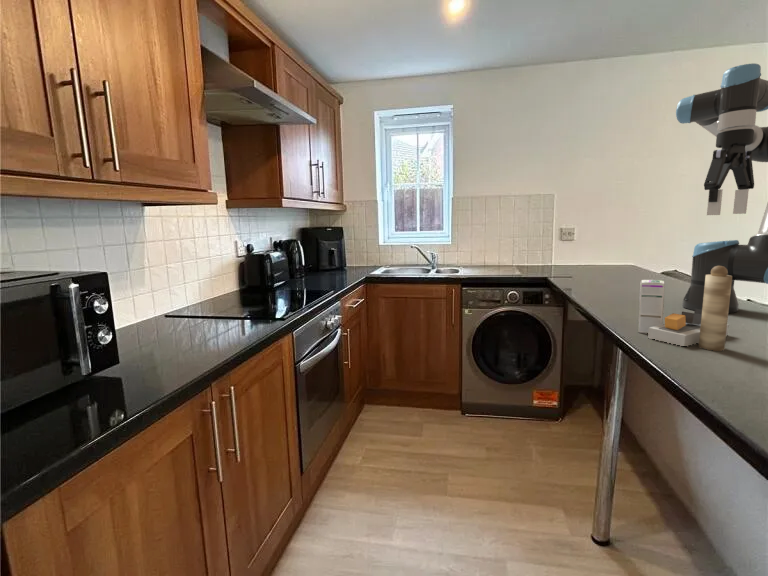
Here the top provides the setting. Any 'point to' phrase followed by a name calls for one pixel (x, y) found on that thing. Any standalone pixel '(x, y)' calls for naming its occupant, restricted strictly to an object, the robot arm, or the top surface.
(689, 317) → the paddle middle
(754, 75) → the robot arm
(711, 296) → the pepper mill
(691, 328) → the breaker strip
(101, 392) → the top surface
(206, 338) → the top surface
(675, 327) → the paddle
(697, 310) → the paddle
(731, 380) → the top surface
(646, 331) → the syrup box
